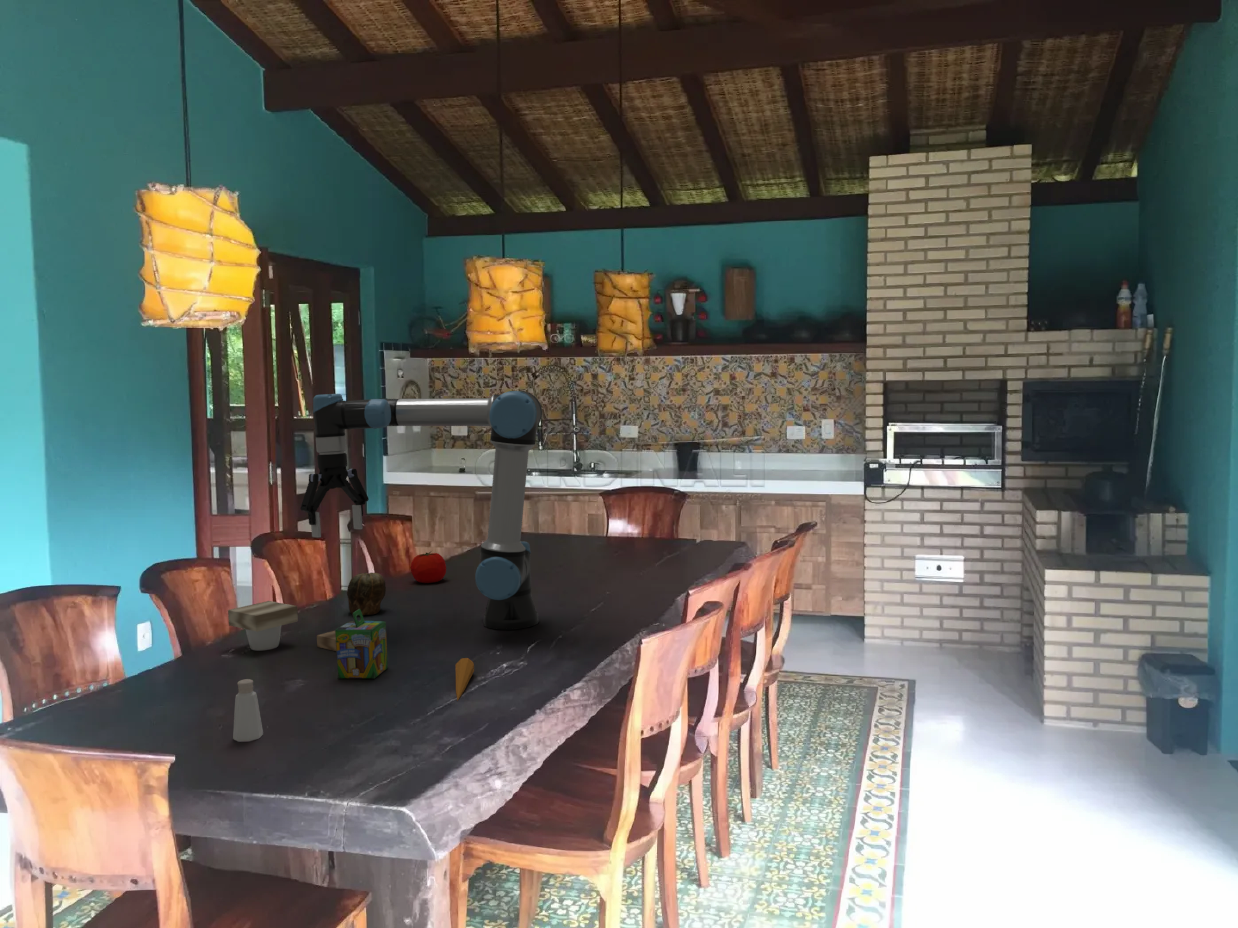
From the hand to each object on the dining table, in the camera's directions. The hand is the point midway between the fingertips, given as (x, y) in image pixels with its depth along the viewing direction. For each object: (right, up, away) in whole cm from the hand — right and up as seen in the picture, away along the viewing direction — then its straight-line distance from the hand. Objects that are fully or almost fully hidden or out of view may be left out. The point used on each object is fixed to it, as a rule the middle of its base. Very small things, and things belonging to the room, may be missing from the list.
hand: (337, 533), depth 255 cm
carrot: (+39, -31, -42) cm, 65 cm away
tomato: (+10, -22, +72) cm, 76 cm away
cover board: (-17, -23, -7) cm, 29 cm away
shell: (0, -26, +29) cm, 39 cm away
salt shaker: (+3, -34, -70) cm, 78 cm away
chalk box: (+15, -31, -30) cm, 46 cm away
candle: (-17, -29, -6) cm, 34 cm away
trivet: (+3, -29, -6) cm, 29 cm away
